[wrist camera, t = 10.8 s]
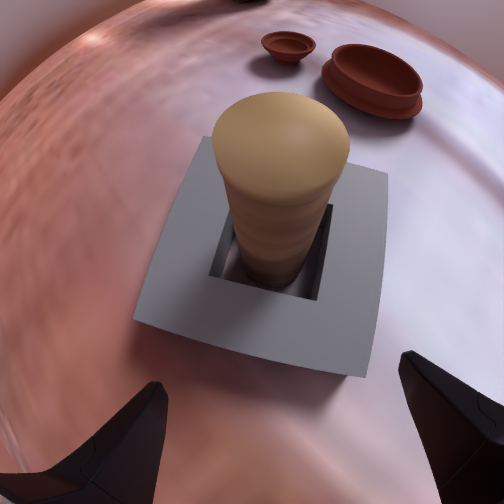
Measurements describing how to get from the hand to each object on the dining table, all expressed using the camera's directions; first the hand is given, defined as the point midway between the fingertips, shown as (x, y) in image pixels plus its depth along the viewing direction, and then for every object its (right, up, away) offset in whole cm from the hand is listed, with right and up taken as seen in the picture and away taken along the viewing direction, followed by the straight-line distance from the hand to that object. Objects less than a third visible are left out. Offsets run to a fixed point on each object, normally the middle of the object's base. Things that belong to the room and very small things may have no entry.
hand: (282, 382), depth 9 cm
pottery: (+9, +24, +19) cm, 32 cm away
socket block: (0, +4, +11) cm, 12 cm away
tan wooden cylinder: (0, +4, +11) cm, 12 cm away
